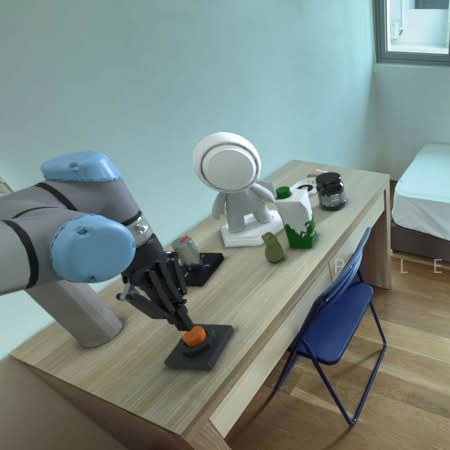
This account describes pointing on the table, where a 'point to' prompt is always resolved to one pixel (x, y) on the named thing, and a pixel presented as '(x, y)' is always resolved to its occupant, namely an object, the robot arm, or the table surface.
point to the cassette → (267, 186)
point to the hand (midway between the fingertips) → (186, 328)
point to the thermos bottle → (78, 311)
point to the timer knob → (188, 253)
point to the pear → (272, 247)
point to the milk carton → (296, 216)
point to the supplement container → (330, 191)
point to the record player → (308, 182)
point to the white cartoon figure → (236, 188)
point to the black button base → (201, 349)
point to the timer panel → (202, 269)
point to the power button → (194, 336)
